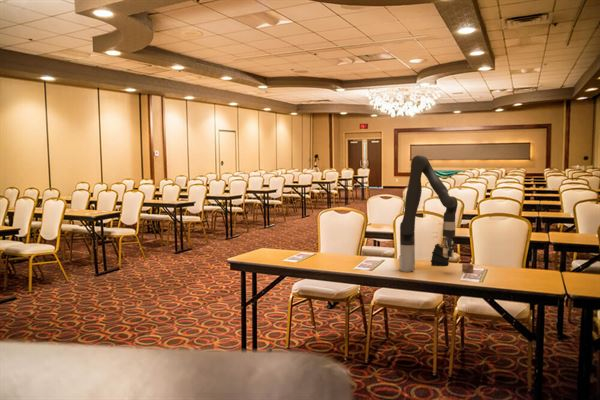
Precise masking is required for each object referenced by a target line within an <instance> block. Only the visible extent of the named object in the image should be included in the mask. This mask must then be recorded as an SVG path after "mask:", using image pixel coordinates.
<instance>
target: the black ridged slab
mask: <svg viewBox="0 0 600 400" xmlns="http://www.w3.org/2000/svg"><path fill="white" fill-rule="evenodd" d="M443 248H444V247H443V245H441V244H440V243H436V244H435V245H434V248H433V251H432V252H431V254H432V255H431V259H430V262H431V266H432V267H449V265H450V263H449V260H450V259H451V258H446V257H444V256H443Z"/></svg>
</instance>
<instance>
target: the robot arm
mask: <svg viewBox="0 0 600 400" xmlns="http://www.w3.org/2000/svg"><path fill="white" fill-rule="evenodd" d="M409 174H410V175H409V179H408V184H407V188H406V189H407V190H406V194H405V200H404V213H403V217H402V221H401V222H400V224H399V244H400V246H399V252H400V253H399V257H398V258H399V259H398V260H399V267H398V268H399V271H401V272H405V273H412V272H414V271H415V270H416V269H415V268H416V266H415V265H416V264H415V263H416V261H415V260H416V257H415V256H416V252H415V248H416V241H415V240H416V239H415V237H416V236H415V229H416V215H417V212H418V209H419V205H420V202H421V197H422V193H423V192H422V191H423V190H422V189H423V188H422V174H423V175H424V176H425V177H426V179H427V181H428V183H429V185H430V187H431V188H432V190H433V191H434V193H435V194H436V196H437V197H438V199H439V202H440V203H441V205H442V206H443V207H444V208H446V209H445V211H444V213H443V222H442V237H443V238H442V242H443V245H442V246H443V247H444V248H448V257H451V256H452V250H454V249H455V248H454V247H455V240H453V238H455V237H456V213H457V210H458V200H457V198H456V196H452V195H451V196H450V194H449V193H448V191H449V190H448V188H447V187H446V185H445V184H444V183H443V182H442V179H440V177H439V176H438V174H437V173H436V172H435V170H434V168H433V166H432V165H431V163H430V160H429V159H428V157H426V156H424V155H420V154H419V155H415V156H413V158H412V159H411V162H410V172H409ZM454 251H455V250H454Z"/></svg>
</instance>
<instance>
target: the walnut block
mask: <svg viewBox="0 0 600 400" xmlns="http://www.w3.org/2000/svg"><path fill="white" fill-rule="evenodd" d="M461 268H462V269H461V270H462V272H461V273H463V272H464V273H463V274H465V273H472V274H474V264H471V263H462V264H461Z"/></svg>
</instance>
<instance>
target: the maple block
mask: <svg viewBox="0 0 600 400" xmlns="http://www.w3.org/2000/svg"><path fill="white" fill-rule="evenodd" d="M454 253H455V250H452V256H451V257H448V248H443V256H444V257H446V258H450V259H451V258H454V256H455V254H454Z"/></svg>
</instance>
